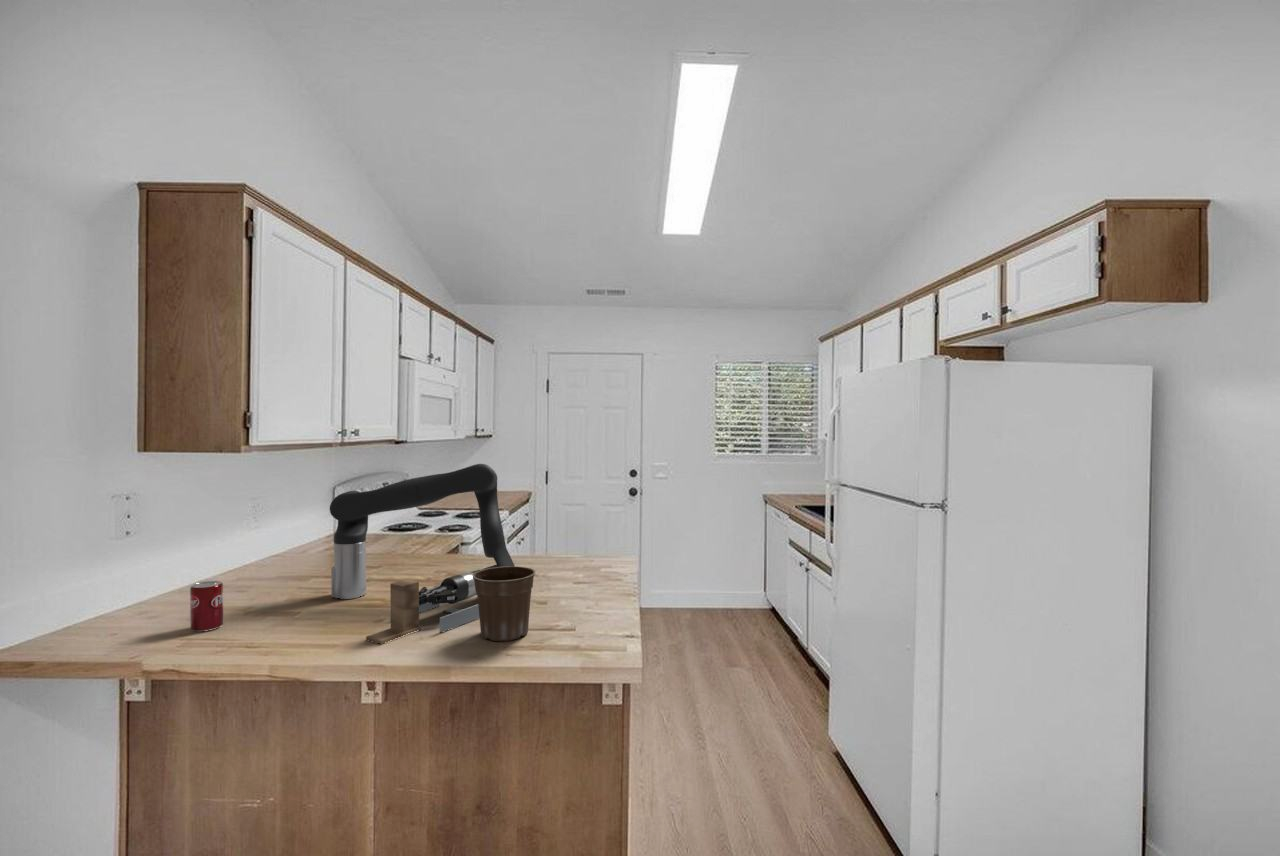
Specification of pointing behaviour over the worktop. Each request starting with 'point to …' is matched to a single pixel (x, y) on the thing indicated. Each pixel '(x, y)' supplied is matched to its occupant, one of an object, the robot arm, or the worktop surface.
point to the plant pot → (504, 601)
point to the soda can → (206, 605)
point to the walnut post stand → (401, 611)
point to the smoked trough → (453, 615)
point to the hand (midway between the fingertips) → (412, 602)
